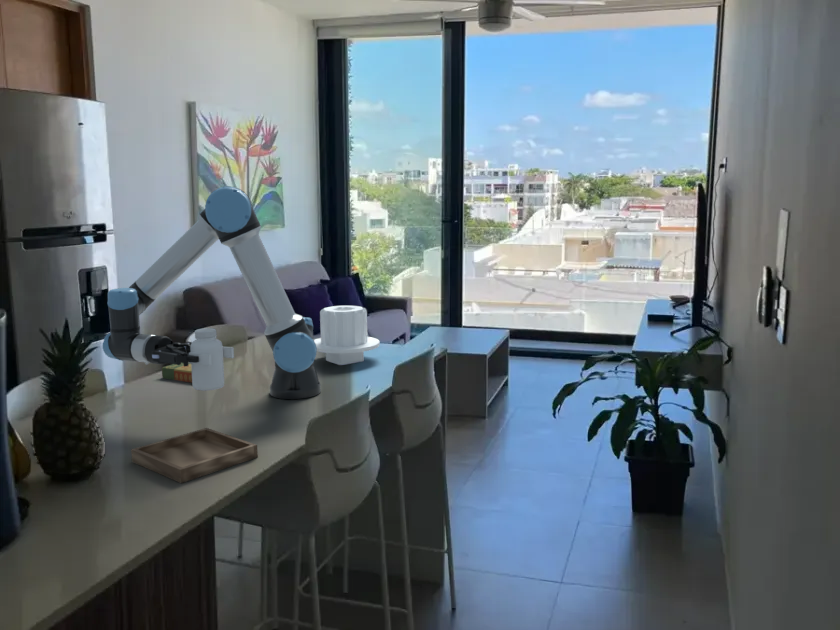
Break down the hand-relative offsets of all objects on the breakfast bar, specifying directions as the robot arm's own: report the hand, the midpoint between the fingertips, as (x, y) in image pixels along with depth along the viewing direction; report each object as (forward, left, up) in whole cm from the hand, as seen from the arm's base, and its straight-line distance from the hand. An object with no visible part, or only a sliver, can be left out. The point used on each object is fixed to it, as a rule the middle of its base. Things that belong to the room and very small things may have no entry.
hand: (221, 356), depth 192 cm
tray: (+17, +12, -19) cm, 29 cm away
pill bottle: (+1, -5, -9) cm, 10 cm away
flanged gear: (-74, -33, -20) cm, 83 cm away
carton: (-25, -55, -20) cm, 64 cm away
